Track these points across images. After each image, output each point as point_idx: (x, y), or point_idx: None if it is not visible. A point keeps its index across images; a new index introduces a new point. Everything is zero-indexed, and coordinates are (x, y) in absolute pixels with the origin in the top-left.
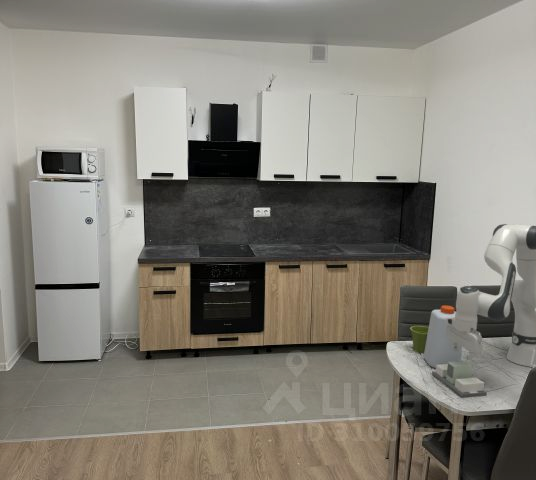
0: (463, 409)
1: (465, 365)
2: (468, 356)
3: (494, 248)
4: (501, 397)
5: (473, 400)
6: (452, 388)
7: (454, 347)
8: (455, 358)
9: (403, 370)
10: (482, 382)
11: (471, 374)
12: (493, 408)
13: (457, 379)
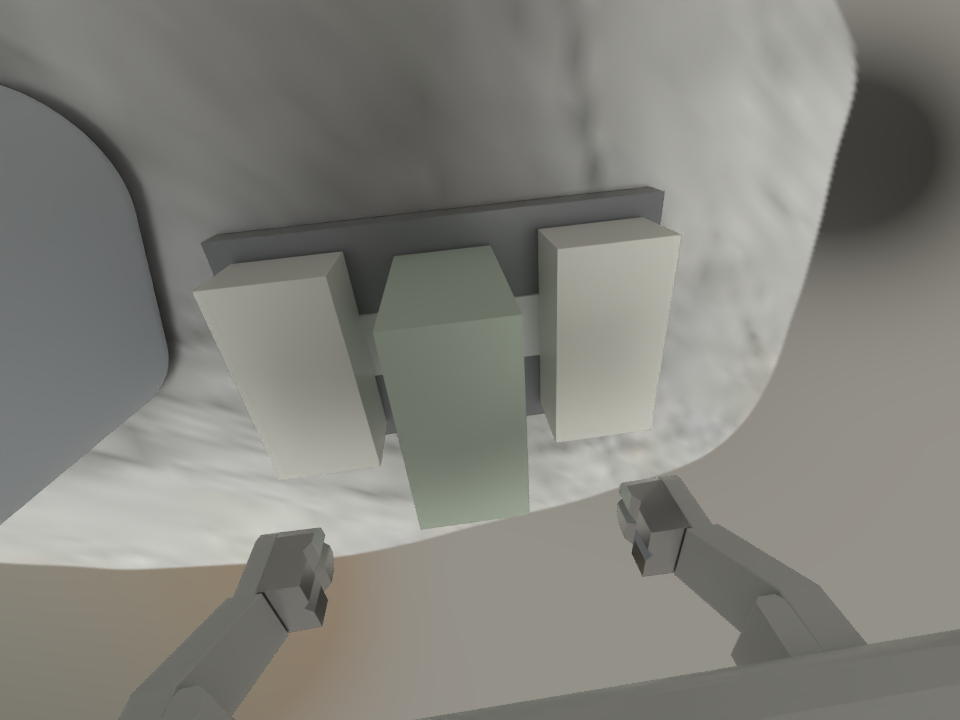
0: (734, 427)
1: (517, 406)
2: (689, 575)
3: None
4: (718, 48)
5: (676, 327)
6: (540, 410)
7: (291, 626)
8: (37, 247)
9: None
10: (670, 248)
11: (502, 274)
12: (808, 250)
13: (564, 431)
